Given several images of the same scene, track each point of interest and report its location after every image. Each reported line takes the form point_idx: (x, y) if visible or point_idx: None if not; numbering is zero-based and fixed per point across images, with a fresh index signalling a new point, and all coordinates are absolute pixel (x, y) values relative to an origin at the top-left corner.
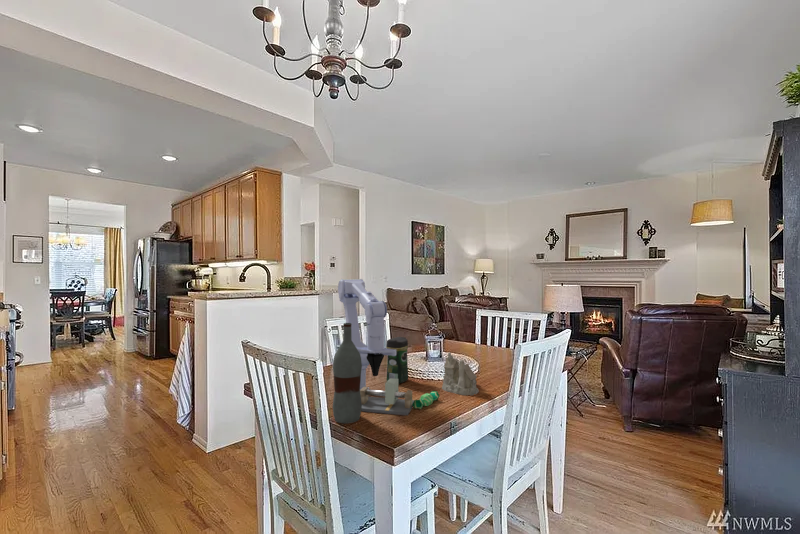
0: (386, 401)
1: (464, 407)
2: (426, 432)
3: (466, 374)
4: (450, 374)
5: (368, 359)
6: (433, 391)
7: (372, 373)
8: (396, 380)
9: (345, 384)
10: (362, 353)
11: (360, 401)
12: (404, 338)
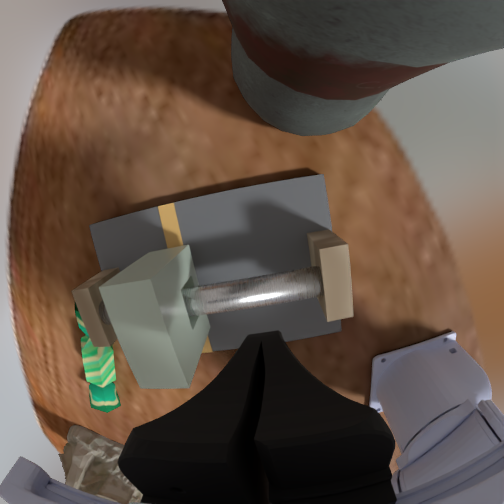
0: (179, 248)
1: (30, 349)
2: (21, 135)
3: (64, 468)
4: (113, 484)
5: (341, 410)
6: (102, 408)
7: (281, 337)
8: (128, 358)
9: None
10: (469, 465)
11: (233, 64)
12: None
